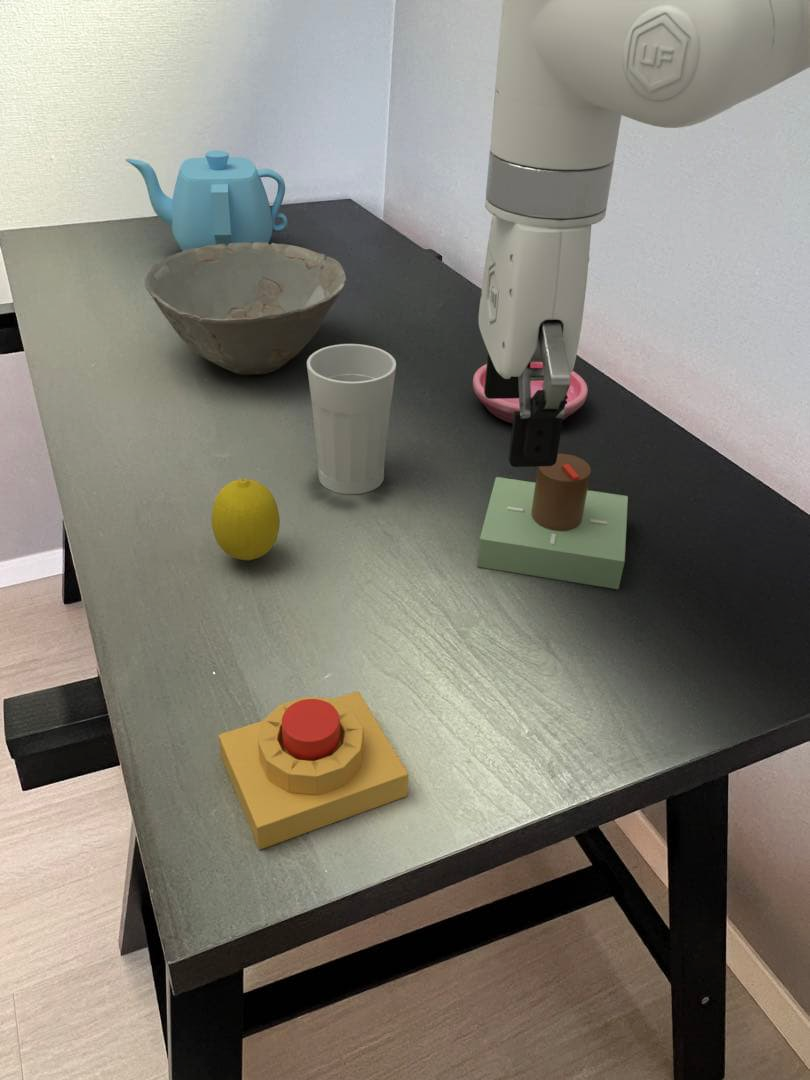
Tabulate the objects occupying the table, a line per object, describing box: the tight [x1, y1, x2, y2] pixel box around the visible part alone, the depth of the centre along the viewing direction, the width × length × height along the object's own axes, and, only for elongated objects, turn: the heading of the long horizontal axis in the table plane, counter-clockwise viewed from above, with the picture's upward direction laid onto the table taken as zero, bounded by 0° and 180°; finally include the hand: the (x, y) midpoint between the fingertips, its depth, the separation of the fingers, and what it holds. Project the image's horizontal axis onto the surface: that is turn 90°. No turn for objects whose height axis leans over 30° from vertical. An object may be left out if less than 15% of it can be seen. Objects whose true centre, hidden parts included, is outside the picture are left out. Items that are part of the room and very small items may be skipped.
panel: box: [476, 476, 629, 590], centre depth 83 cm, size 12×10×3 cm
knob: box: [531, 453, 592, 530], centre depth 80 cm, size 4×4×5 cm
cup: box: [306, 343, 397, 495], centre depth 88 cm, size 8×8×12 cm
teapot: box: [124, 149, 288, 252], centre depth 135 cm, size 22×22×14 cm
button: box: [282, 699, 340, 760], centre depth 59 cm, size 4×4×2 cm
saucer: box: [472, 362, 589, 424], centre depth 103 cm, size 12×12×3 cm
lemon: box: [211, 477, 281, 562], centre depth 78 cm, size 6×6×8 cm
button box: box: [217, 690, 409, 851], centre depth 61 cm, size 10×8×4 cm
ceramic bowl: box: [144, 242, 347, 376], centre depth 109 cm, size 22×23×10 cm
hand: (517, 428), depth 68 cm, fingers open, 9 cm apart
